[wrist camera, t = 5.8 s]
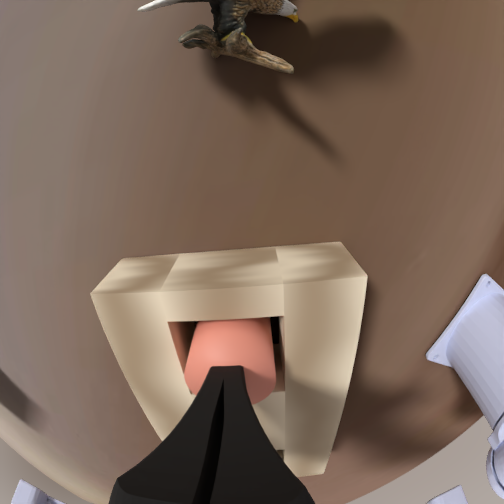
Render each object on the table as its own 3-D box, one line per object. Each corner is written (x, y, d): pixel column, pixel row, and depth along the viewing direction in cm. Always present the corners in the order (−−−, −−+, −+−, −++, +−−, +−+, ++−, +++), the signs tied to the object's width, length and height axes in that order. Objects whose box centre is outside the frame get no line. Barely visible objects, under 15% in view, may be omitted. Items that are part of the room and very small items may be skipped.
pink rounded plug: (268, 288, 15) (274, 345, 11) (271, 346, 16) (277, 405, 12) (192, 293, 15) (174, 349, 11) (205, 349, 16) (194, 407, 12)
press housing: (340, 241, 15) (367, 275, 11) (317, 439, 22) (323, 473, 19) (122, 258, 15) (90, 293, 11) (193, 445, 23) (188, 478, 19)
